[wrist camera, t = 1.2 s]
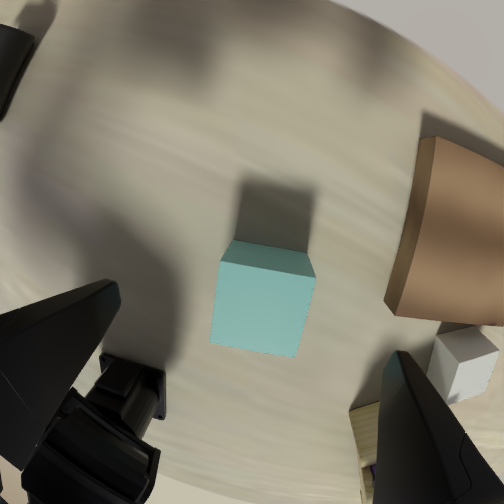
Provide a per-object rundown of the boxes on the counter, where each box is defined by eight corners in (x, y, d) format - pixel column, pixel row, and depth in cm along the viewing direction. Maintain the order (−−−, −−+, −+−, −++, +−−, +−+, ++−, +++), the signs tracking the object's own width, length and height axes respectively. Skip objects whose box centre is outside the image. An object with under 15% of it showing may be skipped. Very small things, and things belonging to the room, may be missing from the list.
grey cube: (463, 365, 21) (483, 392, 17) (425, 375, 22) (444, 406, 17) (473, 325, 20) (499, 350, 16) (435, 334, 21) (459, 363, 16)
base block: (485, 312, 20) (503, 326, 17) (381, 298, 21) (394, 315, 18) (518, 185, 17) (540, 188, 14) (416, 139, 17) (436, 135, 14)
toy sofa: (417, 474, 26) (434, 528, 17) (358, 493, 28) (367, 550, 18) (431, 375, 22) (476, 451, 12) (345, 405, 23) (365, 496, 13)
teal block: (291, 318, 21) (294, 357, 16) (223, 306, 21) (209, 342, 16) (307, 252, 20) (316, 278, 15) (233, 239, 20) (219, 261, 15)
